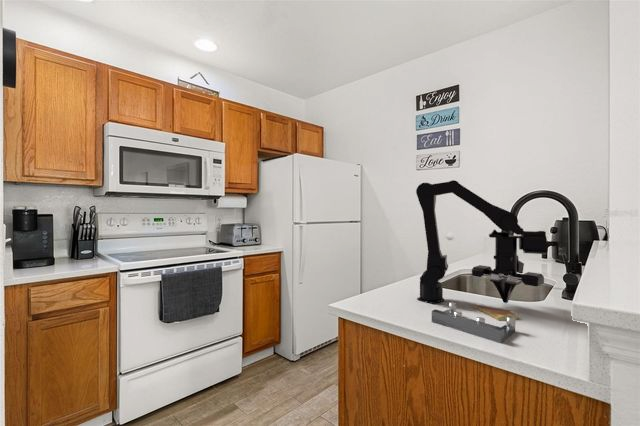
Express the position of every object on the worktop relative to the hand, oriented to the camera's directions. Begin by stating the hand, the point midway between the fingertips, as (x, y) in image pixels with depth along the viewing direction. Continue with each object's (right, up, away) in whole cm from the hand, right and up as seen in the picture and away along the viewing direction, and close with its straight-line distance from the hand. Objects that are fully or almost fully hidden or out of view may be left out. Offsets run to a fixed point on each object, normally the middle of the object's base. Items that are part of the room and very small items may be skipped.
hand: (505, 302), depth 99 cm
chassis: (-17, -3, -14) cm, 22 cm away
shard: (-7, -3, -5) cm, 9 cm away
